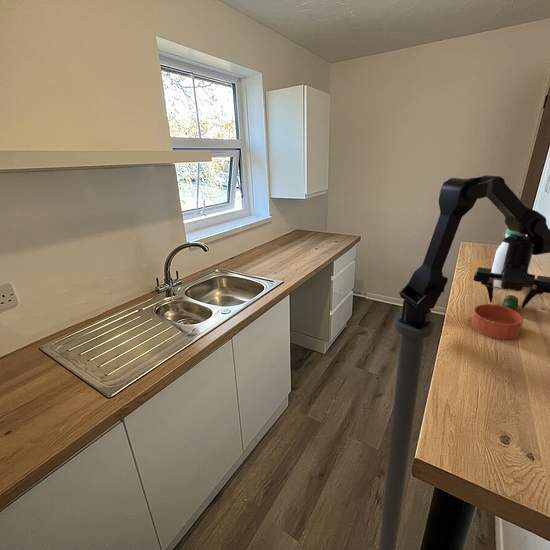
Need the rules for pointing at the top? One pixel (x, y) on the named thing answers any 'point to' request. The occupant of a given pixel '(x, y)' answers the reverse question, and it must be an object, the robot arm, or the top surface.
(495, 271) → the milk bottle
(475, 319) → the bowl
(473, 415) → the top surface
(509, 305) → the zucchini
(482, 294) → the top surface
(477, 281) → the robot arm
